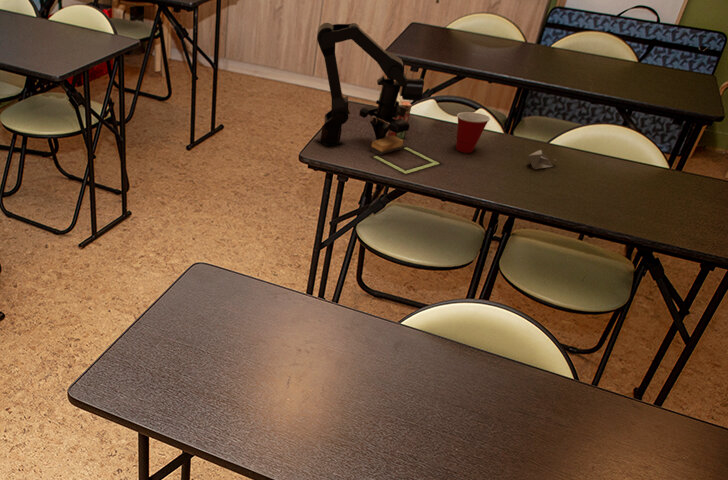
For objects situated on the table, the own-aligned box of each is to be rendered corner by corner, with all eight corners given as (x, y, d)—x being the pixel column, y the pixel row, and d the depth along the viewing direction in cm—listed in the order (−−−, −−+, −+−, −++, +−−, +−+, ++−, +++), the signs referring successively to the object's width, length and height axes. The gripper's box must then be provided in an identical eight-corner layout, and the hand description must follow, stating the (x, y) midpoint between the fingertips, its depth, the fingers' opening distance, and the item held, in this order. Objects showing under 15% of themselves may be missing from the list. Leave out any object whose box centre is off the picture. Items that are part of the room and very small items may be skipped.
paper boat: (537, 155, 235) (565, 156, 229) (531, 173, 236) (559, 175, 230) (525, 143, 227) (554, 144, 220) (519, 162, 228) (548, 164, 221)
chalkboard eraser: (380, 155, 236) (382, 146, 233) (370, 150, 239) (372, 141, 236) (401, 149, 240) (403, 140, 237) (391, 144, 243) (393, 135, 241)
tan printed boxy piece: (375, 116, 264) (381, 83, 256) (391, 116, 264) (398, 83, 256) (387, 138, 247) (394, 104, 239) (404, 138, 247) (412, 104, 239)
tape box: (405, 174, 225) (405, 173, 225) (373, 157, 235) (373, 156, 235) (439, 163, 231) (439, 163, 231) (406, 147, 241) (406, 147, 241)
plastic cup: (474, 143, 245) (483, 109, 238) (484, 155, 237) (495, 121, 229) (444, 142, 245) (453, 109, 237) (453, 155, 237) (463, 121, 229)
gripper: (425, 102, 228) (414, 147, 238) (385, 85, 240) (377, 129, 250) (401, 108, 224) (391, 154, 234) (362, 91, 235) (354, 135, 246)
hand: (379, 142), depth 241 cm, fingers closed
